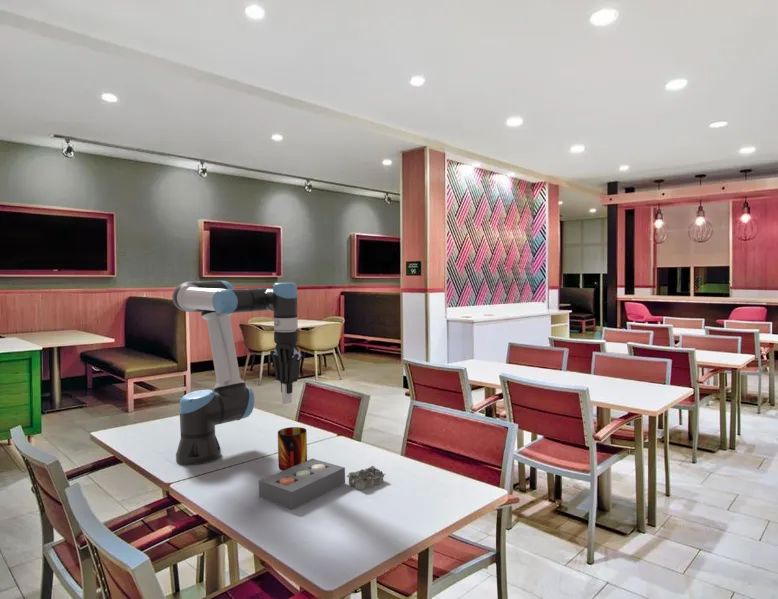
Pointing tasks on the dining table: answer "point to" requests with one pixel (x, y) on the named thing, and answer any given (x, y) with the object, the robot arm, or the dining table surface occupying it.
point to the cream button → (318, 467)
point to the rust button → (286, 481)
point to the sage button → (303, 474)
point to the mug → (292, 447)
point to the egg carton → (365, 478)
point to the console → (301, 484)
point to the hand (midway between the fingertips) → (286, 402)
